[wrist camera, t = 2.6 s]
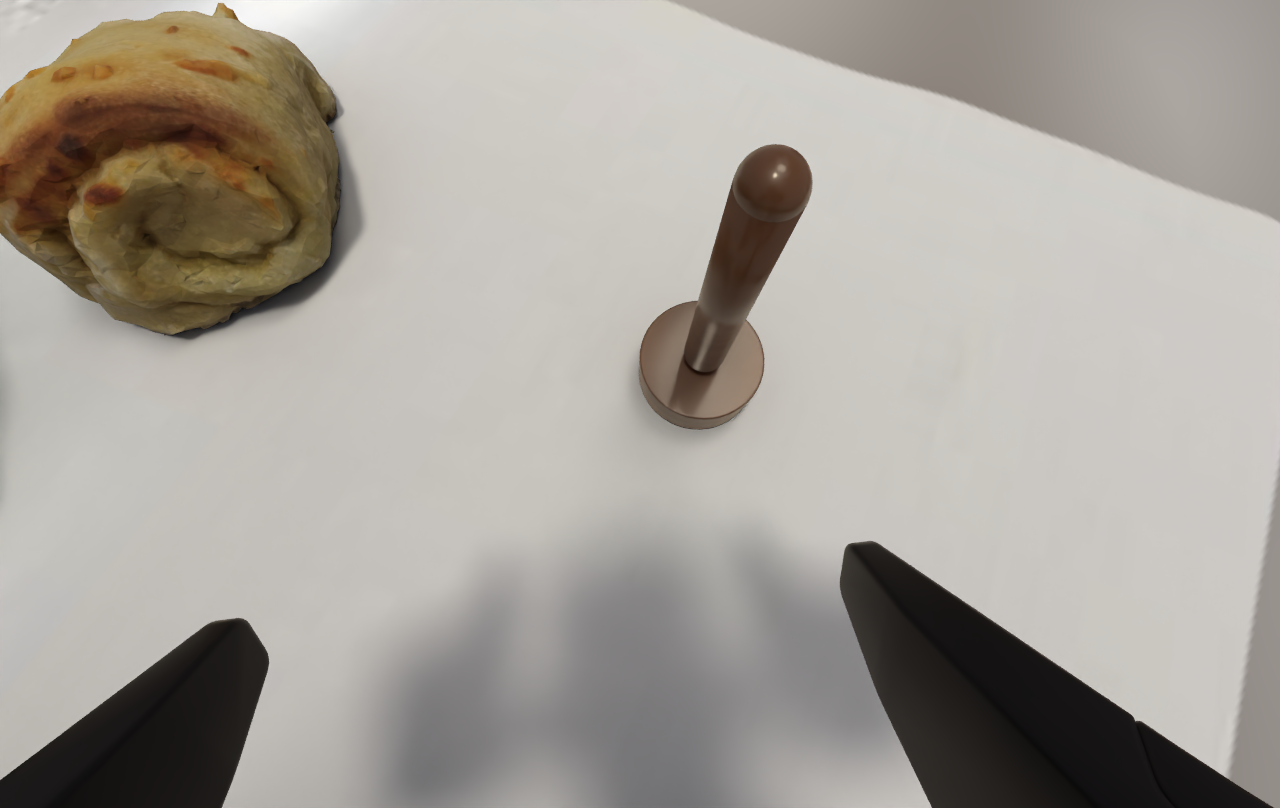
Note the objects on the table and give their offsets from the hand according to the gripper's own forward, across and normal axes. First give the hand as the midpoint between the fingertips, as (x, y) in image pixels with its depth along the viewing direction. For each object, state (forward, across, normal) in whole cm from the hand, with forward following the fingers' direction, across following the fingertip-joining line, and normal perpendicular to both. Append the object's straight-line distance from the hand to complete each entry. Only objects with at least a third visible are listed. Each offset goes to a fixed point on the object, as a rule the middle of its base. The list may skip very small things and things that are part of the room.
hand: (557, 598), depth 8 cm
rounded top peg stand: (+15, -5, +4) cm, 16 cm away
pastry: (+22, +15, -4) cm, 27 cm away
